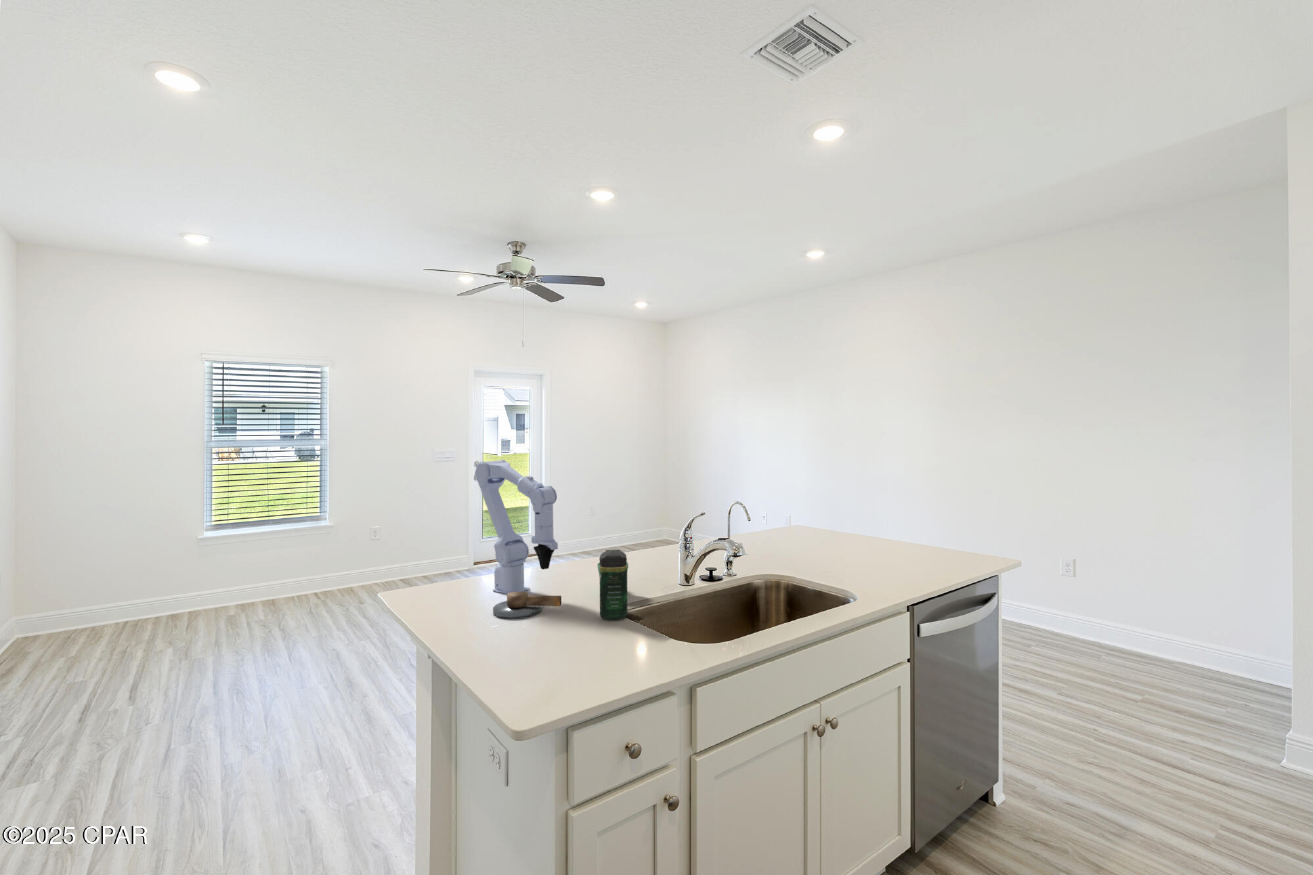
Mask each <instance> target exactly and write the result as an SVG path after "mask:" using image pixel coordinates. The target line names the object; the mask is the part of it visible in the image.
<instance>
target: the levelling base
mask: <svg viewBox="0 0 1313 875" xmlns="http://www.w3.org/2000/svg"><path fill="white" fill-rule="evenodd" d="M542 611H543V606H524V607H518V608H511V607H508V606H507V600H504V601H501V602H499V603H497V604H495V605H494V606H493V607H492V615H493V616H494V617H495V618H498V619H502V620H503V619H504V620H519V619H520V620H521V619H526V618H531V617H534V616H536V615H538V614H540V613H541V612H542Z"/></svg>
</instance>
